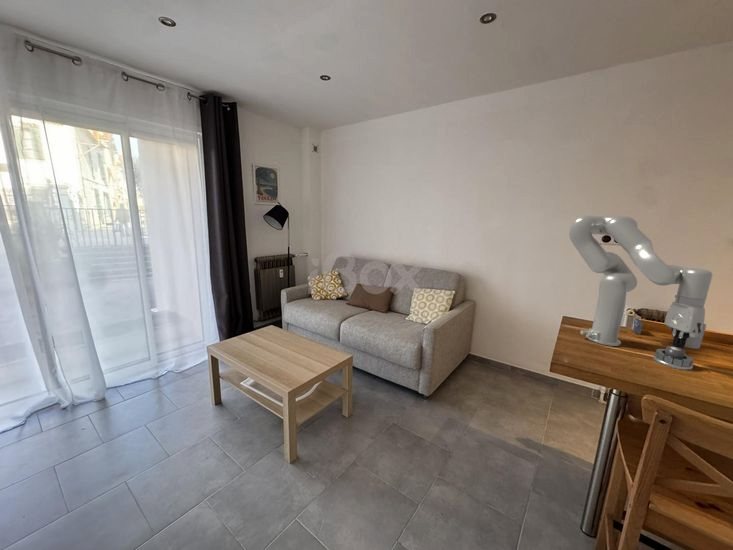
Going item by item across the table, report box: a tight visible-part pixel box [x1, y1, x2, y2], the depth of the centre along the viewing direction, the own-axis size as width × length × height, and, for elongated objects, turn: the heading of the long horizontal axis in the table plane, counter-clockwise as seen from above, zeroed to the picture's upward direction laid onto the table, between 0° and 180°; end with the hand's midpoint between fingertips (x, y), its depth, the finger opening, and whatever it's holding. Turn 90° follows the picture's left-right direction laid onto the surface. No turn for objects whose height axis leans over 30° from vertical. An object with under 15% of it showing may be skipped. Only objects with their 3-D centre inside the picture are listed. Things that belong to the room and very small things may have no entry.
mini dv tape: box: [630, 318, 644, 336], centre depth 148 cm, size 8×2×6 cm, turn 152°
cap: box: [665, 345, 686, 359], centre depth 116 cm, size 5×5×5 cm
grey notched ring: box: [652, 348, 694, 371], centre depth 116 cm, size 11×11×4 cm
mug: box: [684, 323, 707, 350], centre depth 133 cm, size 12×8×11 cm
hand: (677, 346), depth 115 cm, fingers closed
